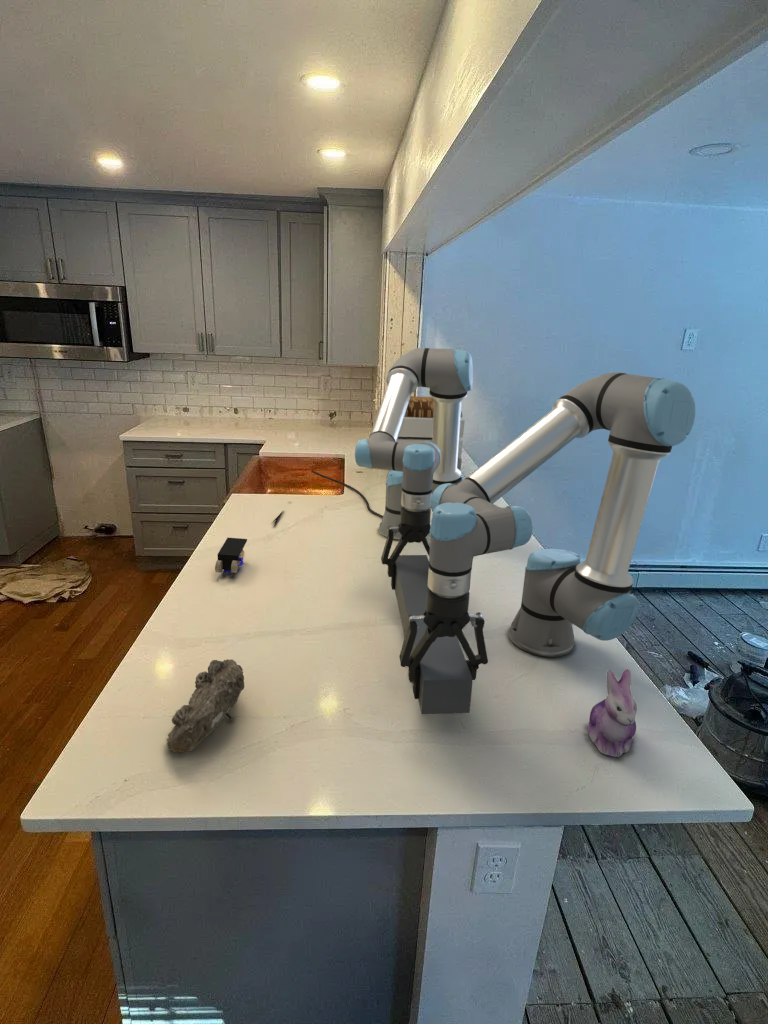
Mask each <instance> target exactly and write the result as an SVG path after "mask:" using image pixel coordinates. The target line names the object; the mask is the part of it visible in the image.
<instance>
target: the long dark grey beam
mask: <svg viewBox="0 0 768 1024" xmlns="http://www.w3.org/2000/svg"><path fill="white" fill-rule="evenodd" d="M395 565H396V579H395V590H394V593H395V597H396V602H397V607H398V611H399V612H398V613H399V616H400V620H401V621H400V622H401V626H402V631H403V636H404V637H405V636H406V633H407V630H408V627H409V619H408V616H409V615H410V614H414V615H415V616H421V615H423V614H424V612H425V611H426V603H427V589H428V571H429V556H428V554H400V555H399V557H398V558H397V560H396V562H395ZM426 628H427V625H426V624H425V623H422V624H421V627H420V628H419V629H417V635H416V638H415V641H414V644H413V647H412V651H411V654H412V652H413V651H414V649H415V648H416V646H417V644H418V643H419V641H420V640H421V638H422V637H423V635H424V633H425V630H426ZM411 654H410V656H411ZM466 660H467V659H466V657H465V654H464V650H463V648H462V645H461V643H460V642H459V640H458V638H457V636H456V635H455V637H448V636H445V637H437V638H436V640H435V642H433V643H432V644H431V646H430V647H429V649H428V650H427V652H426V653H425V655H424V657H423V658H422V660H421V661H420V663H419V666H420V685H419V699H417V700H418V704H419V710H420V715H422V716H423V715H424V716H425V715H426V716H428V715H455V714H456V715H457V714H470V712H471V702H472V692H473V682H474V680H473V678H472V676H471V673H470V670H469V667H468V665H467V662H466Z"/></svg>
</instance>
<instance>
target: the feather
mask: <svg viewBox="0 0 768 1024" xmlns="http://www.w3.org/2000/svg"><path fill="white" fill-rule="evenodd" d="M283 512H284V509H282V511H281V512H280V513H279V514H278V516H276V517H275V518H274V519H273V521H272V522H271V524H273V523H274V527H276V525H277V523H278V522H279V520H280V518H281V516H282V514H283Z"/></svg>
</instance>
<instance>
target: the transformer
mask: <svg viewBox="0 0 768 1024" xmlns="http://www.w3.org/2000/svg"><path fill="white" fill-rule="evenodd" d="M433 413H434V399H433V398H432V397H431V396H415V395H414V396H413V395H411V397H410V400H409V403H408V407H407V410H406V413H405V416H404V419H403V423H402V426H401V429H400V432H399V436H398V439H397V442H399V443H409V444H420V443H423V442H432V436H433ZM464 429H465V419H464V418H463V411H461V417H460V432H459V446H458V461H457V468H458V469H459V470H460V471H461V472H462V461H463V460H462V453H463V442H464V441H463V440H462V439H463V438H464V431H465V430H464ZM390 471H391V470H389V472H390Z"/></svg>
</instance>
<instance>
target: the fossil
mask: <svg viewBox="0 0 768 1024" xmlns="http://www.w3.org/2000/svg"><path fill="white" fill-rule="evenodd" d="M243 670H244V669H243V667H242V665H240V664H237V662H236V661H235V660H234V659H232V658H231V659H227V658H226V659H224V660H223V661H222V660H217V659H212V660H211V661H210V663H209V665H208V666H207V671H201V672H199V673H198V674H197V675H196V676H195V680H194V684H195V685H194V687H195V689H194V690H193V693H192V694H191V697H190V698H189V700H188V704H184V705H182V706H181V707H180V709H177V710H176V711H175V713H174V715H173V716H172V718H171V723H172V724H173V727H172V730H171V731H170V732H168V734H167V738H166V741H167V742H166V745H167V749H168V750H169V751H173V752H174V753H176V754H178V753H182V752H188V751H189V752H192V751H193V750H195V748H196V747H197V746H199V744H200V743H201V742H203V741H204V740H205V739H206V738H207V737H208V736H209V735H210V734H211V733H212V732H214V730H215V729H217V727H218V726H219V724H220V722H221V721H222V720H223V719H224V718H225V716H226V717H227V719H229V720H233V717H232V715H230V714H229V710H230V709H231V708H234V706H235V704H236V703H237V702H238V699H239V697H240V695H241V693H242V691H243V690H245V689H244V688H245V675H244V671H243Z"/></svg>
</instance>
